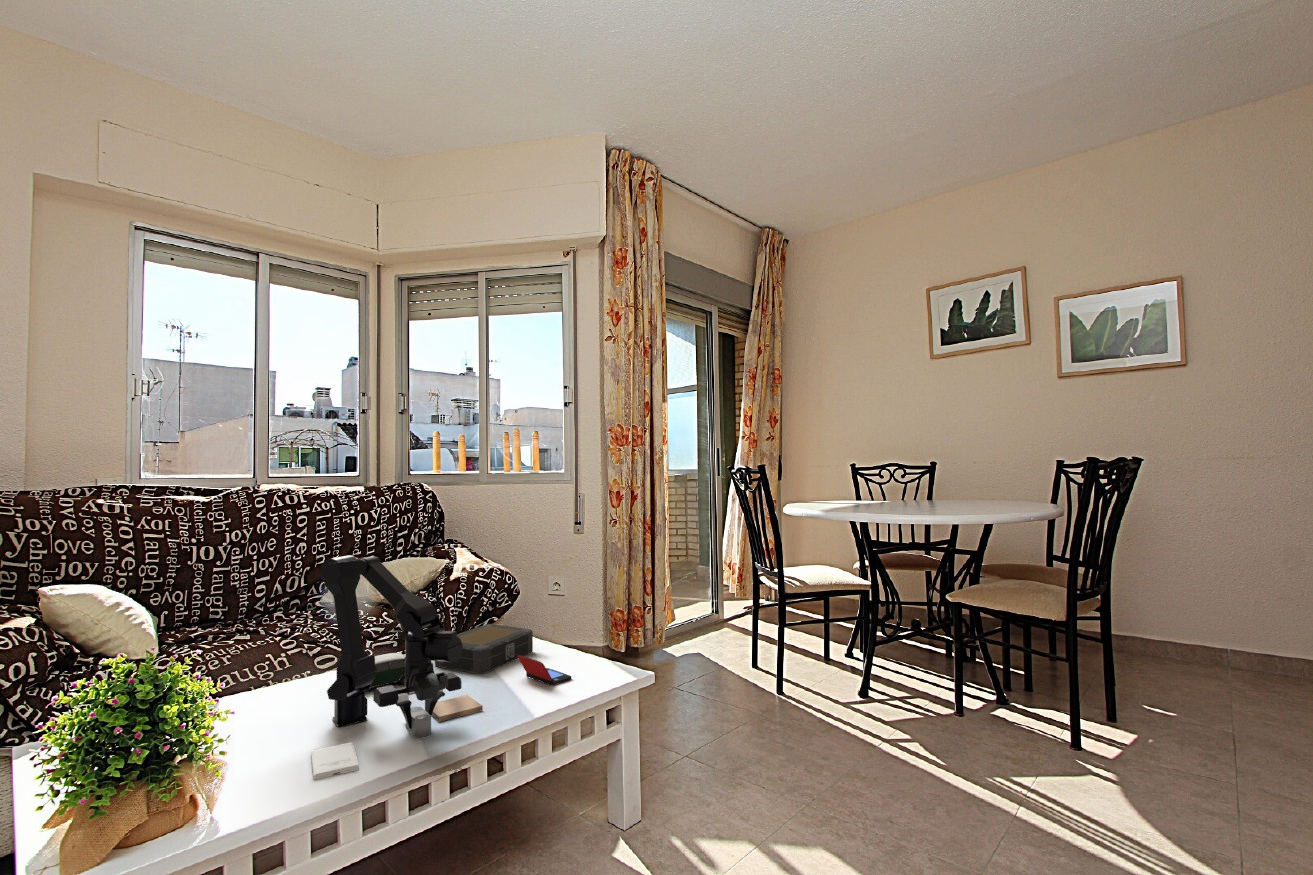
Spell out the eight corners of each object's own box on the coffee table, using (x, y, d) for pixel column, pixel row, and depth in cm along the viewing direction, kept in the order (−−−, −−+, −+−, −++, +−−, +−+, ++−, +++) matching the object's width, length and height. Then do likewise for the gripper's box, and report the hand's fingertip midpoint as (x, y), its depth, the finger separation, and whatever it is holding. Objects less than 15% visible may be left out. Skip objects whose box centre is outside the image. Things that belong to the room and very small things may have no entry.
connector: (417, 739, 148) (417, 721, 148) (401, 722, 157) (401, 705, 158) (433, 735, 150) (433, 717, 150) (416, 719, 160) (416, 702, 160)
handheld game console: (573, 680, 187) (573, 654, 187) (542, 690, 179) (541, 662, 179) (546, 670, 196) (546, 645, 196) (516, 679, 188) (515, 653, 188)
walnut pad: (439, 721, 158) (439, 716, 158) (425, 709, 166) (425, 704, 166) (482, 710, 164) (482, 705, 164) (467, 699, 172) (467, 694, 172)
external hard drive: (352, 749, 145) (359, 771, 134) (310, 758, 140) (313, 782, 130) (352, 741, 145) (358, 763, 134) (310, 750, 141) (313, 773, 130)
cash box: (484, 676, 192) (483, 649, 192) (432, 667, 201) (432, 641, 201) (536, 652, 214) (536, 629, 214) (487, 645, 223) (487, 622, 223)
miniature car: (341, 688, 182) (341, 659, 183) (407, 675, 193) (407, 647, 194) (349, 697, 175) (349, 667, 176) (417, 683, 186) (417, 654, 187)
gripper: (386, 675, 141) (386, 749, 141) (470, 658, 153) (470, 726, 152) (372, 663, 150) (372, 732, 149) (452, 647, 161) (452, 712, 161)
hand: (418, 726), depth 153 cm, fingers closed on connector, 4 cm apart
